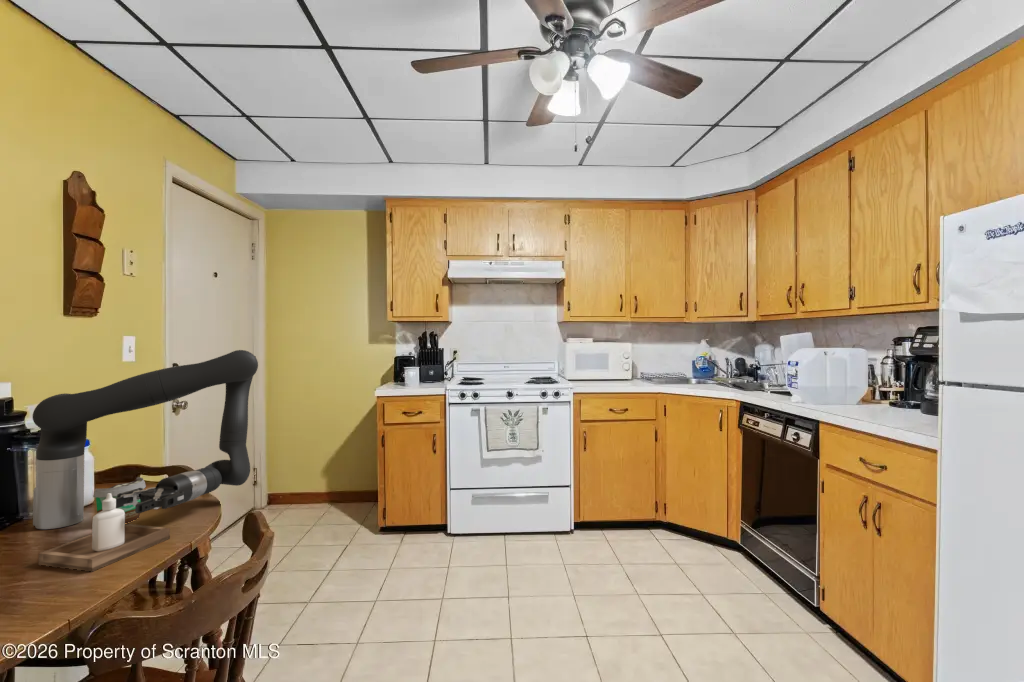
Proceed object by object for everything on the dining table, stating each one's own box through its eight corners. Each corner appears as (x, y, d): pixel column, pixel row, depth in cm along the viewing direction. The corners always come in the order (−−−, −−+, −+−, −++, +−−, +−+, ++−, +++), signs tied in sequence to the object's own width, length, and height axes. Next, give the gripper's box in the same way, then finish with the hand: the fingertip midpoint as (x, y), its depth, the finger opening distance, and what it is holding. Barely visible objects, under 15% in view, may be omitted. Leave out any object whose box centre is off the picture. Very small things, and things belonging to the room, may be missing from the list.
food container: (112, 531, 124) (113, 490, 124) (92, 529, 125) (93, 489, 125) (157, 514, 136) (157, 477, 136) (138, 512, 137) (138, 476, 137)
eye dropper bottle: (123, 547, 112) (124, 494, 112) (90, 553, 109) (91, 498, 109) (125, 541, 116) (125, 489, 116) (93, 546, 112) (94, 493, 113)
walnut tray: (38, 565, 105) (38, 553, 105) (121, 533, 122) (122, 523, 122) (92, 571, 102) (92, 559, 102) (169, 538, 119) (169, 528, 119)
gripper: (159, 472, 132) (97, 489, 117) (205, 475, 129) (147, 493, 114) (159, 500, 132) (96, 521, 117) (204, 504, 129) (146, 526, 114)
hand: (121, 507), depth 115 cm, fingers open, 8 cm apart
